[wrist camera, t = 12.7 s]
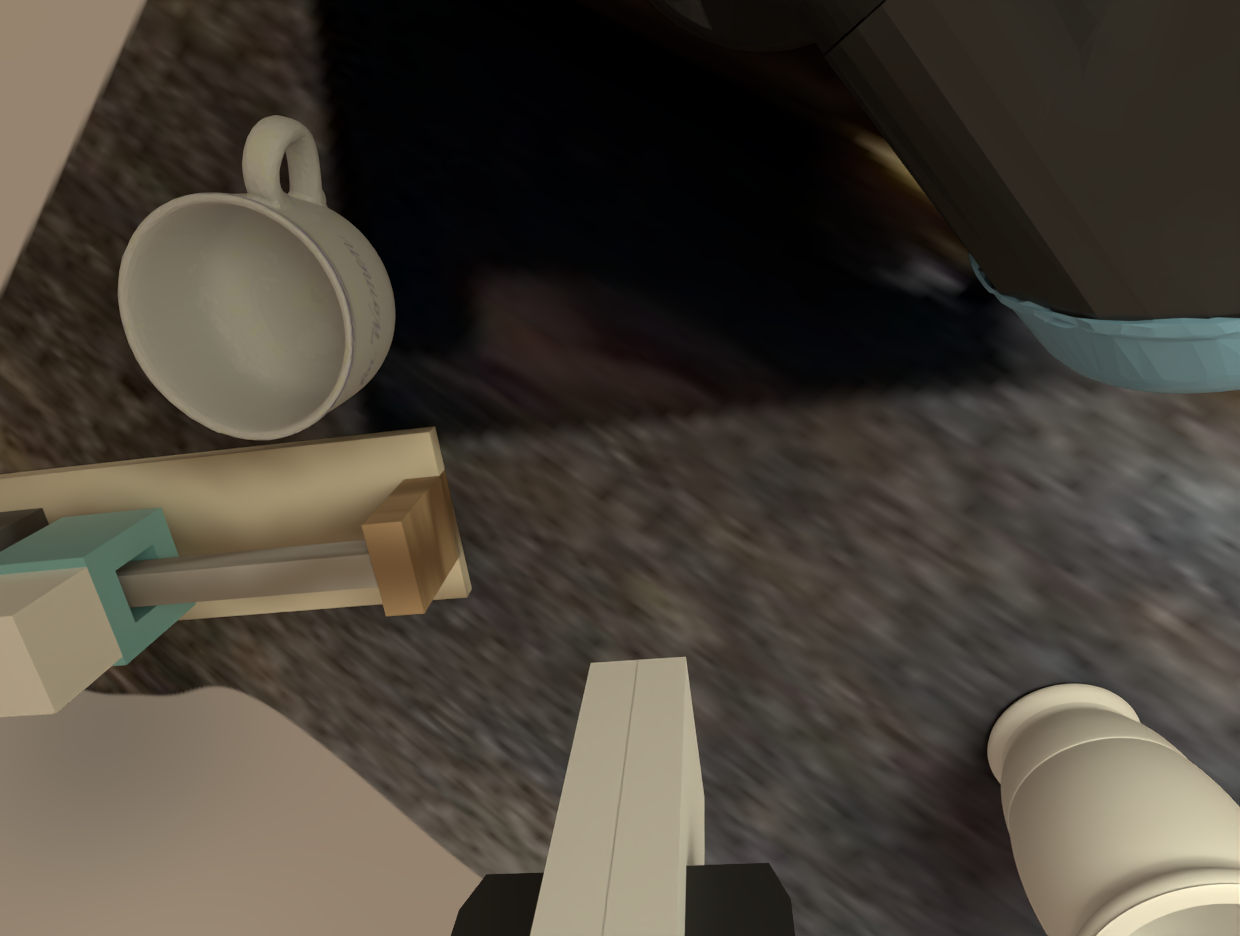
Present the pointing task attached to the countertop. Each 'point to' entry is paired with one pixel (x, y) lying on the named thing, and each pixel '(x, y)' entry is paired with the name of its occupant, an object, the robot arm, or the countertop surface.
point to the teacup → (257, 296)
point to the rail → (272, 523)
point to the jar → (1113, 821)
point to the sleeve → (75, 606)
